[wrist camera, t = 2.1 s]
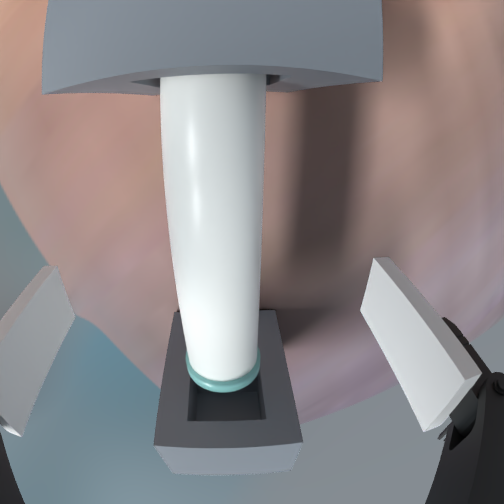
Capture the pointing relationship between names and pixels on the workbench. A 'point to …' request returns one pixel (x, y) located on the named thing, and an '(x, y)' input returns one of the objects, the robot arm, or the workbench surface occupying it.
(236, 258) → the tube
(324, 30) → the sleeve
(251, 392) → the socket block
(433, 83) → the workbench surface
